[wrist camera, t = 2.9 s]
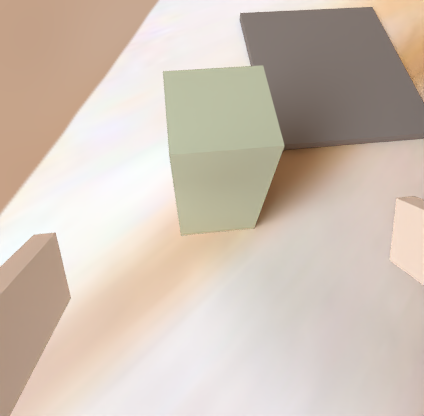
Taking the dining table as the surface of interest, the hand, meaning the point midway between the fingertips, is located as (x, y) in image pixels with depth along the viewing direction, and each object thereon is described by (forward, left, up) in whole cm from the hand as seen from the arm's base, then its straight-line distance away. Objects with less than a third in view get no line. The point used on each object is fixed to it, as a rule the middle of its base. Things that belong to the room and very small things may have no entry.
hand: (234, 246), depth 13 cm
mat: (-15, -23, -13) cm, 30 cm away
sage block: (-1, -9, -13) cm, 16 cm away
